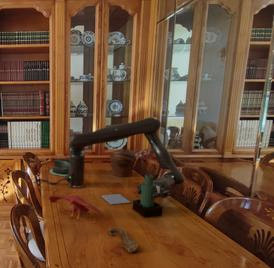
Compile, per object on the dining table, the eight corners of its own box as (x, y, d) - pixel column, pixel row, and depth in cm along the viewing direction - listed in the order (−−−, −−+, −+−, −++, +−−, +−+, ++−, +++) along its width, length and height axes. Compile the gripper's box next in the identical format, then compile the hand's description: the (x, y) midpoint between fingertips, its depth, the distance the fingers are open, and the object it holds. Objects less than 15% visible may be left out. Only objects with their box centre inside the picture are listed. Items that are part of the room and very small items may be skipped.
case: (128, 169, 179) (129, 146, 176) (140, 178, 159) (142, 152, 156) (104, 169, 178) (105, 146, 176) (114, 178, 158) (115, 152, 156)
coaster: (111, 204, 120) (111, 204, 119) (101, 196, 130) (101, 195, 130) (130, 202, 121) (131, 202, 121) (119, 194, 132) (119, 193, 132)
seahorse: (119, 229, 97) (119, 225, 96) (142, 252, 82) (142, 247, 82) (107, 231, 96) (106, 227, 95) (128, 255, 81) (128, 250, 81)
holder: (144, 217, 106) (144, 208, 106) (132, 208, 115) (133, 199, 114) (161, 215, 108) (162, 206, 107) (148, 207, 117) (149, 198, 116)
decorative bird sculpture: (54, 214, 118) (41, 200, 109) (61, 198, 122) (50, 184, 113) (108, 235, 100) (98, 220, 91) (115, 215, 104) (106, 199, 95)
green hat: (79, 168, 180) (75, 177, 161) (58, 177, 187) (52, 186, 168) (70, 151, 180) (65, 157, 161) (49, 160, 187) (42, 168, 168)
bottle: (145, 215, 108) (147, 178, 105) (137, 209, 114) (139, 174, 111) (156, 214, 109) (159, 177, 106) (148, 208, 115) (150, 173, 112)
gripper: (146, 175, 124) (131, 182, 113) (176, 182, 113) (162, 191, 103) (145, 188, 125) (130, 197, 115) (175, 197, 114) (161, 207, 104)
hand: (145, 194), depth 109 cm, fingers closed on bottle, 6 cm apart
